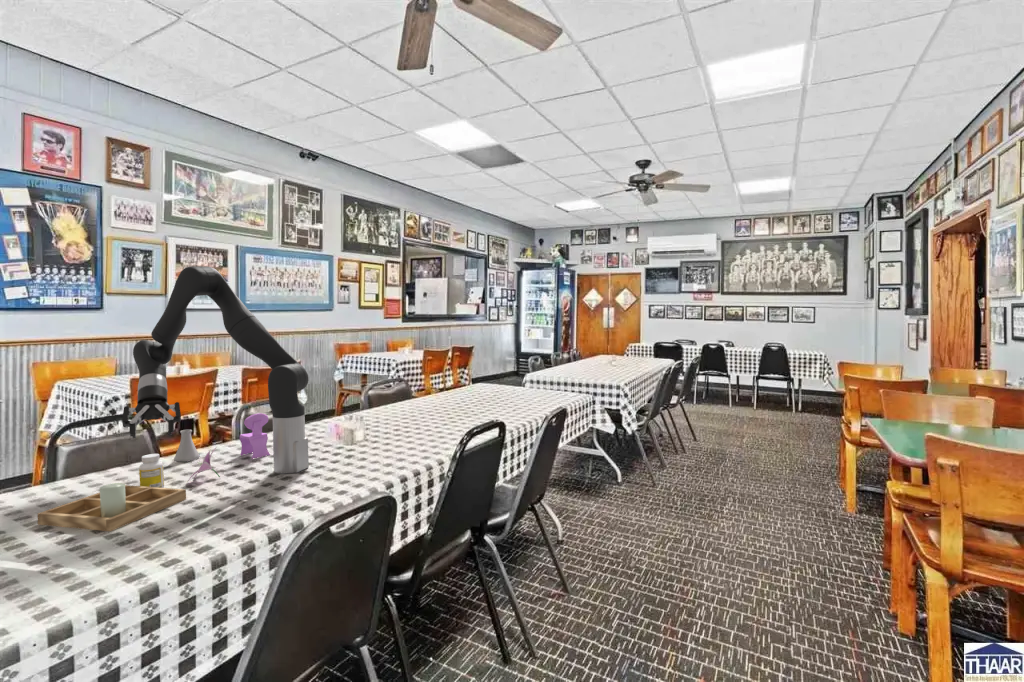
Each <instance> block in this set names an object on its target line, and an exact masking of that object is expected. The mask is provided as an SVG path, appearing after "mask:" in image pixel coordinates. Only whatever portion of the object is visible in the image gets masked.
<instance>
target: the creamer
mask: <svg viewBox="0 0 1024 682" xmlns="http://www.w3.org/2000/svg"><path fill="white" fill-rule="evenodd" d="M125 485H126V483H124V482H115V483H108V484H105V485H102V486H100V487H99V492H100V509H101V517H107V518H111V517H114V516H116V515H119V514H121V513H124V512H126V495H125Z"/></svg>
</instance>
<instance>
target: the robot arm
mask: <svg viewBox="0 0 1024 682" xmlns="http://www.w3.org/2000/svg"><path fill="white" fill-rule="evenodd" d="M201 296H203V297H204V296H208V297H209V298H210V299H211V300H212V301H213V302H214V303H215V304H216V305H217V307H218V308H219V309H220V311H221V314H222V320H223V326H224V329H225V330H226V332H227V334H228V335H229V336H230V337H231V338H232V340H234V341H235V343H236V344H237V345H239V347H241V348H242V349H243V350H245V351H246V352H248V353H249V354H251V355H253V356H255V357H256V358H258V359H259V360H261V361H263V362H264V363H265V364H266V365H267V366H268V367H270V369H271V370H270V372H269V375H268V379H267V391H268V404H269V408H270V409H271V413H272V442H273V443H272V445H273V446H272V447H273V448H272V451H273V472H274V473H276V474H292V473H293V474H294V473H296V474H297V473H300V472H301V471H303V470H305V469H308V468H309V438H308V437H306V421H305V419H306V418H305V416H306V414H305V406H304V404H302V403H300V401H299V397H298V395H299V394H298V392H301V391H303V390H304V389H305V388H306V387H307V386H308V383H309V374H308V371H307V370H306V369H305V368H304V367H303V365H302V364H301V363H299V361H297V360H296V359H295V358H294V357H293V356H292V355H291V354H289V353H288V352H287V350H285V348H283V347H282V345H280V344H279V342H278V341H277V340H276V339H275V337H274V336H273V335H272V334H271V333H270V332H269V331H268V329H266V327H265V326H264V325H263V324H262V322H260V321H259V319H258V318H257V317H256V316H255V315H254V314H253V313H252V312H251V311H250V310H249V308H248V307H247V306H246V305H245V304H244V302H243V301H242V300H241V299H240V298H239V297H238V296H237V294H236V293H235V292H234V291H233V289H232V287H231V286H230V285H229V283H228V282H227V280H226V279H225V278H224V277H223V275H222V274H221V273H220V272H219V270H217V268H214V267H212V266H208V265H206V266H202V265H199V266H197V265H196V266H195V265H194V266H187V267H185V268H183V269H182V270H181V271H180V273H179V274H178V276H177V278H176V280H175V283H174V287H173V289H172V291H171V294H170V297H169V299H168V302H167V305H166V307H165V309H164V312H163V313H162V315H161V316H160V318H159V320H158V321H157V323H156V325H155V326H154V327H153V329H152V332H151V334H150V335H151V338H152V339H153V340H154V341H152V340H148V339H141V340H139V341H138V342H136V343H135V345H134V346H133V349H132V356H133V360H134V362H135V364H136V367H137V369H138V373H139V374H138V375H139V376H138V377H139V378H138V384H137V405H136V406H135V407H130V406H128V405H125V406H124V407H123V411H122V418H121V424H122V427H123V428H129V436H130V437H132V439H136V438H137V426H139V424H140V425H141V423H143V422H144V421H151V420H160V419H161V420H163V421H164V422H167V424H168V425H167V431H168V432H167V433H168V435H172V433H174V431H175V423H180V422H182V414H181V407H180V402H178V401H177V402H174V404H169V403H168V383H167V368H166V366H165V365H167V364H169V362H171V360H172V357H173V351H174V347H175V344H176V341H177V339H178V338H179V336H180V335H181V333H182V332H183V330H184V328H185V326H186V324H187V309H188V306H189V304H190V303H191V302H192V301H193V300H194V299H195V298H196V297H201ZM169 410H171V411H172V412H174V413H175V415H174V416H173V415H171V414H170V413H169V412H168V411H169ZM133 413H136V414H135V415H134V417H132V419H131V420H129V419H130V417H131V416H132V415H133Z"/></svg>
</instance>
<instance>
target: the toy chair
mask: <svg viewBox="0 0 1024 682" xmlns="http://www.w3.org/2000/svg"><path fill="white" fill-rule="evenodd" d="M268 422H269V416H268V414H265V413H262V412H258V413H253V414H251V415H249V416H248V417H246V418H245V419H244V421H243V424H244V425H245V427H246V428H247V429H249V430H250V431H252V432H249V433H242V434H239V442H240V444H241V450H240V454H239V455H241V456H244V455H243V454H246V455H248V454H247V453H251V455H252V456H251V460H254V459H253V458H256V459H258V458H257V457H260V458H263V457H262V456H264V457H267V456H266V455H269V456H271V454H270V452H269V450H268V448H267V443H268V440H269V437H268V433H266V432H263V427H264V426H265V425H267V423H268ZM252 452H253V453H252Z"/></svg>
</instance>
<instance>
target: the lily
mask: <svg viewBox="0 0 1024 682" xmlns="http://www.w3.org/2000/svg"><path fill="white" fill-rule="evenodd" d="M216 449H217V447H215V448H214V449H213V450H212V451H211V450H208V452H207V453H206V455H205V456H204V457H203V460H202V461H200V460H199V461H197V462H196V463H195V464H197V465H200V466H199V467H198V469H197V470H195V472H194V473H192V474H191V476H190V477H189V479H188V480H187V481H186V483H185V485H187V484H188V483H189V481H190V480H191V478H192V477H193V476H194V479H195V478H196V476H197V475H198V474H200V473H201V472H202V473H203V472H205V471H208V470H212V471H213V472H214V473H215V474H216V475H217V476H218V478H219V477H221V475H219V473H218V472H217V471H216V470H215V469H214V468H213V467H212V466H211V456H212V454H213V453H214V452H215V450H216Z"/></svg>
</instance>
